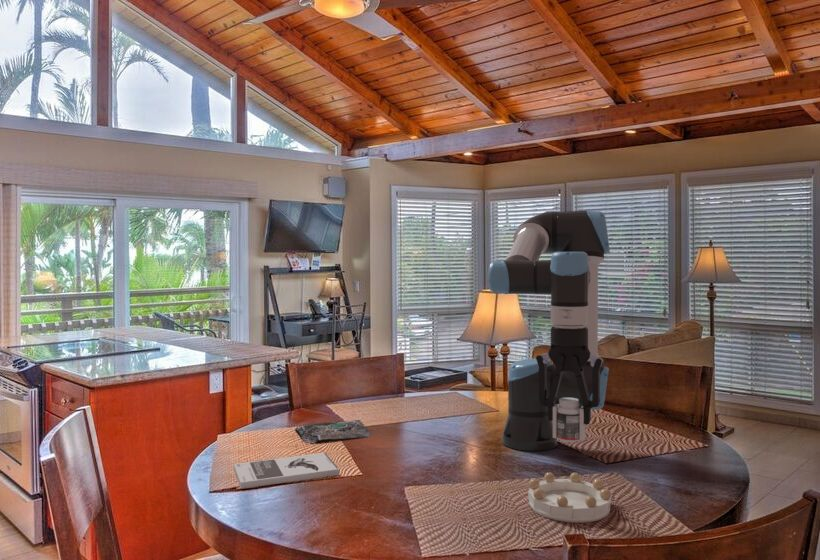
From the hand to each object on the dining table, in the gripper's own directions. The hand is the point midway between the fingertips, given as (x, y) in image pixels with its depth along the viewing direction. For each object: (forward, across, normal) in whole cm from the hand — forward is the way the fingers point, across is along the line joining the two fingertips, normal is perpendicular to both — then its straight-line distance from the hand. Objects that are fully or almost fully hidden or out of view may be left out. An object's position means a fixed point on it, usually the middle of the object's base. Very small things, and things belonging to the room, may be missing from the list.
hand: (569, 437), depth 131 cm
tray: (+15, 0, 0) cm, 15 cm away
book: (+15, -67, -6) cm, 69 cm away
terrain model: (+15, -73, +27) cm, 80 cm away
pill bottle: (+1, 0, 0) cm, 1 cm away
